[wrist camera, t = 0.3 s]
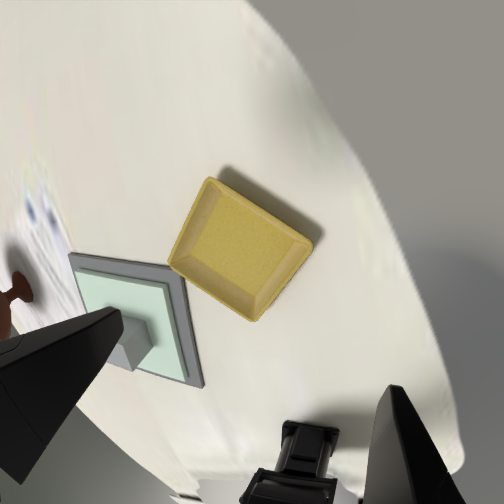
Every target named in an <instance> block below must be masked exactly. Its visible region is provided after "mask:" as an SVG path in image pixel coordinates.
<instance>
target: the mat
mask: <svg viewBox="0 0 504 504" xmlns="http://www.w3.org/2000/svg"><path fill="white" fill-rule="evenodd" d="M68 257H69V261H70V264H71V268H72V271H73V274H74V278H75V281H76V284H77V287H78V290H79V294H80V297H81V300H82V302H83V305H84V308H85V311H86V314H87V313H88V312H87V309H86V306H85V303H84V300H83V297H82V294H81V291H80V288H79V285H78V281H77V278H76V275H75V271H76V270H77V269H79V268H80V269H86V270H91V271H96V272H101V273H107V274H112V275H117V276H123V277H128V278H134V279H140V280H146V281H151V282H157V283H163V284H167V286H168V291H169V296H170V301H171V306H172V311H173V316H174V320H175V325H176V329H177V334H178V338H179V342H180V346H181V351H182V355H183V359H184V363H185V367H186V371H187V375H188V378H187V379H186V381H185V382H184V381H180V380H177V379H174V378H170V377H167V376H164V375H160V374H157V373H154V372H151V371H148V370H145V369H142V368H139V367H136V369H139V370H142V371H145V372H148V373H151V374H154V375H157V376H160V377H163V378H166V379H169V380H173V381H176V382H179V383H183V384H186V385H190V386H194V387H197V388H201V389H202V388H203V387H204V383H203V379H202V374H201V370H200V365H199V360H198V355H197V351H196V346H195V341H194V336H193V330H192V325H191V320H190V314H189V309H188V303H187V297H186V292H185V286H184V280H183V277H182V276H181V275H180V274H178V273H177V272H175V271H174V270H173V269H172V268H171V267H166V266H159V265H152V264H144V263H137V262H130V261H123V260H116V259H109V258H102V257H95V256H89V255H82V254H75V253H70V254H68Z"/></svg>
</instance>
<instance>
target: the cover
mask: <svg viewBox="0 0 504 504" xmlns="http://www.w3.org/2000/svg"><path fill="white" fill-rule="evenodd" d="M75 275H76V278H77V281H78V285H79V288H80V291H81V294H82V297H83V300H84V303H85V306H86V309H87V312H88V313H90V312H93V311H96V310H99V309H102V308H105V307H108V306H112V307H115V308H117V309H119V310H120V311H121V314H122V319H123V324H124V332H123V334H122V336H121V338H120V339H119V341H118V343H117V344H116V346H115V348H114V349H113V351H112V353H111V354H110V356H109V358H108V360H107V361H106V362H108V363H110V364H113V365H115V366H118V367H121V368H123V369H126V370H129V371H131V372H133V371H134V370H135V369H136V367H139V368H142V369H145V370H148V371H151V372H154V373H157V374H160V375H164V376H167V377H170V378H174V379H177V380H180V381H184V382H185V381H186V379H187V378H188V375H187V371H186V367H185V363H184V359H183V355H182V351H181V346H180V342H179V338H178V334H177V329H176V325H175V320H174V316H173V311H172V306H171V301H170V296H169V291H168V286H167V284H163V283H157V282H151V281H146V280H140V279H134V278H128V277H123V276H117V275H112V274H107V273H101V272H96V271H91V270H86V269H80V268H79V269H77V270H76V271H75Z"/></svg>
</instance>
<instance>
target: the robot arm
mask: <svg viewBox="0 0 504 504" xmlns="http://www.w3.org/2000/svg"><path fill="white" fill-rule="evenodd" d="M123 332H124V324H123V319H122V314H121V311H120V310H119V309H117V308H115V307H112V306H108V307H105V308H102V309H99V310H96V311H93V312H90V313H87V314H84V315H81V316H78V317H75V318H71V319H68V320H65V321H62V322H59V323H56V324H53V325H50V326H47V327H44V328H41V329H37V330H34V331H31V332H28V333H26V334H22V335H19V336H16V337H12V338H9V339H5V340H1V341H0V468H2V469H3V470H4V471H5V472H6V473H7V474H8V475H9V476H10V477H12V478H13V479H14V480H15V481H16V482H18V483H19V484H20V485H21V484H23V482H24V481H25V479H26V477H27V476H28V474H29V473H30V471H31V470H32V468H33V467H34V465H35V464H36V462H37V461H38V459H39V458H40V456H41V455H42V453H43V451H44V450H45V449H46V446H47V445H48V444H49V442H50V441H51V439H52V438H53V436H54V435H55V433H56V432H57V431H58V429H59V427H60V426H61V425H62V423H63V422H64V420H65V419H66V418H67V416H68V415H69V413H70V412H71V410H72V409H73V408H74V406H75V405H76V403H77V402H78V401H79V399H80V398H81V396H82V395H83V394H84V392H85V391H86V389H87V388H88V387H89V385H90V384H91V382H92V381H93V380H94V378H95V377H96V376H97V374H98V373H99V372H100V370H101V369H102V367H103V366H104V364H105V363H106V361H107V360H108V358H109V356H110V354H111V353H112V351H113V349H114V348H115V346H116V344H117V343H118V341H119V339H120V338H121V336H122V334H123ZM339 432H340V431H339V430H338V429H332V428H324V427H317V426H310V425H303V424H297V423H291V422H284V423H283V426H282V441H281V452H280V455H279V458H278V461H277V464H276V467H275V470H274V471H270V470H265V469H264V468H259V469H258V471H257V473H255V474H254V476H253V478H252V480H251V482H250V484H249V485H248V487H247V489H246V491H245V492H244V493H243V494H242V496H241V497H240V499H239V502H240V504H333V500H334V495H335V490H336V484H337V479H338V478H333V479H329V478H325V477H326V472H327V468H328V463H329V458H330V457H331V456H332V454H333V451H334V448H335V445H336V442H337V439H338V436H339ZM447 471H448V470H447V468H446V466H445V464H444V462H443V460H442V458H441V456H440V454H439V452H438V450H437V448H436V446H435V445H434V443H433V441H432V439H431V437H430V435H429V433H428V432H427V430H426V428H425V426H424V424H423V422H422V421H421V419H420V417H419V415H418V413H417V412H416V410H415V408H414V406H413V405H412V403H411V401H410V399H409V398H408V396H407V394H406V392H405V391H404V389H403V387H401V386H398V385H392V384H391V385H389V386H388V387H387V388H386V390H385V392H384V394H383V395H382V397H381V399H380V401H379V403H378V406H377V411H376V417H375V423H374V428H373V433H372V438H371V443H370V449H369V456H368V466H367V476H366V484H365V492H364V499H363V504H466V503H465V501H464V499H463V498H462V496H461V494H460V493H459V491H458V489H457V487H456V485H455V483H454V481H453V480H452V477H451V475H450V473H449V472H447ZM327 497H328V498H327ZM0 502H1V498H0Z"/></svg>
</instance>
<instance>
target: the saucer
mask: <svg viewBox="0 0 504 504" xmlns="http://www.w3.org/2000/svg"><path fill="white" fill-rule="evenodd" d="M313 246H314V245H313V243H312V241H311V240H309V239H308V238H306V237H305V236H303V235H302V234H300V233H299V232H297V231H296V230H294V229H293V228H291V227H290V226H288V225H287V224H285V223H283V222H282V221H280V220H279V219H277V218H276V217H274V216H273V215H271V214H270V213H268V212H267V211H265V210H264V209H262V208H260V207H259V206H257V205H256V204H254V203H253V202H251V201H250V200H248V199H246V198H245V197H243V196H242V195H240V194H239V193H237V192H236V191H234V190H232V189H231V188H229V187H228V186H226V185H225V184H223V183H221V182H220V181H218V180H217V179H215V178H214V177H208V178H207V179H206V180H205V181H204V183H203V185H202V187H201V189H200V191H199V193H198V195H197V197H196V199H195V201H194V203H193V205H192V208H191V210H190V212H189V214H188V216H187V218H186V220H185V223H184V225H183V227H182V229H181V231H180V234H179V236H178V238H177V240H176V242H175V245H174V247H173V249H172V251H171V254H170V256H169V258H168V264H169V266H170V267H171V268H172V269H173V270H174V271H175V272H177V273H178V274H180V275H181V276H182V277H184V278H185V279H187V280H188V281H190V282H191V283H192V284H194V285H195V286H197V287H198V288H200V289H201V290H203V291H204V292H206V293H208V294H209V295H210V296H212V297H213V298H215V299H216V300H218V301H219V302H221V303H222V304H224V305H225V306H227V307H228V308H230V309H231V310H233V311H234V312H236V313H237V314H239V315H240V316H242V317H243V318H245V319H246V320H248V321H250V322H256V321H258V320H259V318H260V317H261V316H262V315H263V313H264V312H265V311H266V310H267V308H268V307H269V306H270V305H271V303H272V302H273V301H274V299H275V298H276V297H277V296H278V294H279V293H280V292H281V290H282V289H283V288H284V286H285V285H286V284H287V283H288V281H289V280H290V279H291V278H292V277H293V275H294V274H295V272H296V271H297V270H298V269H299V268H300V266H301V265H302V263H303V262H304V261H305V260H306V259H307V257H308V256H309V255H310V253H311V252H312V250H313Z"/></svg>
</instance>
